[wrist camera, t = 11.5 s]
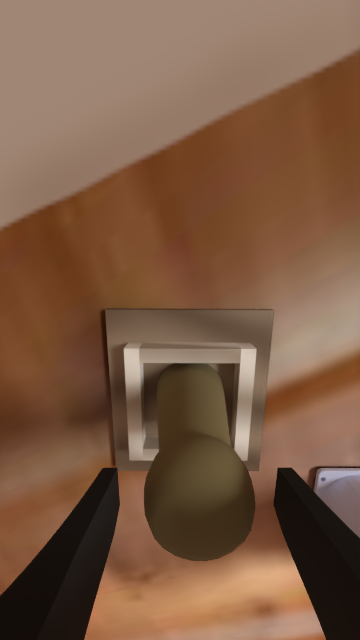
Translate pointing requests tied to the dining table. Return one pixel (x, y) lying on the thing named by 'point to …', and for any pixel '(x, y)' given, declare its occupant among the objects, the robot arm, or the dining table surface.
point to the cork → (196, 469)
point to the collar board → (186, 347)
